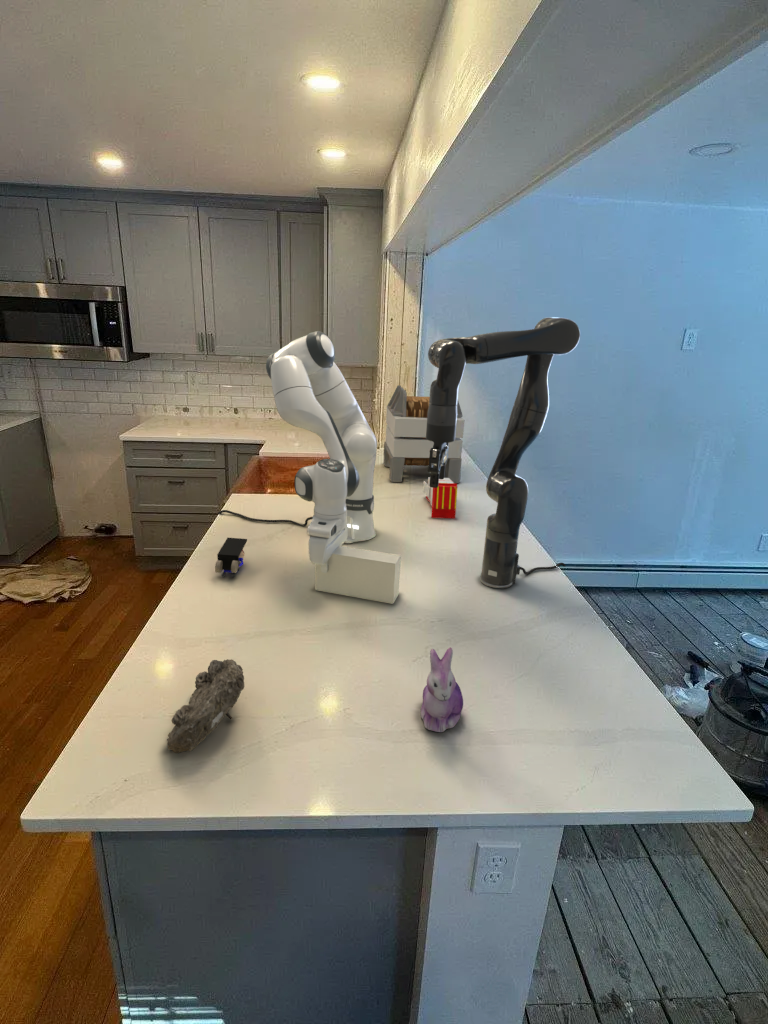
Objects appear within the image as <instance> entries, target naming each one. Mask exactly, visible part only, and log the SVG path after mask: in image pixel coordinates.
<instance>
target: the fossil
mask: <svg viewBox="0 0 768 1024" xmlns="http://www.w3.org/2000/svg"><path fill="white" fill-rule="evenodd" d="M243 670H244V669H243V667H242V665H240V664H237V662H236V661H235V660H234V659H232V658H231V659H227V658H226V659H224V660H223V661H222V660H217V659H212V660H211V661H210V663H209V665H208V666H207V671H201V672H199V673H198V674H197V675H196V676H195V680H194V684H195V685H194V687H195V689H194V690H193V693H192V694H191V697H190V698H189V700H188V704H184V705H182V706H181V707H180V709H177V710H176V711H175V713H174V715H173V716H172V718H171V723H172V724H173V727H172V730H171V731H170V732H168V734H167V738H166V741H167V742H166V745H167V749H168V750H169V751H173V752H174V753H176V754H178V753H182V752H188V751H189V752H192V751H193V750H195V748H196V747H197V746H199V744H200V743H201V742H203V741H204V740H205V739H206V738H207V737H208V736H209V735H210V734H211V733H212V732H214V730H215V729H217V727H218V726H219V724H220V722H221V721H222V720H223V719H224V718H225V716H226V717H227V719H229V720H233V717H232V715H230V714H229V710H230V709H231V708H234V706H235V704H236V703H237V702H238V699H239V697H240V695H241V693H242V691H243V690H245V689H244V688H245V675H244V671H243Z"/></svg>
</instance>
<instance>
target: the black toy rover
mask: <svg viewBox="0 0 768 1024" xmlns="http://www.w3.org/2000/svg"><path fill="white" fill-rule="evenodd" d="M247 542H248V538H240V537H226V539H225V541H224V543H223V544H222V546H221V547H220V549H219V551H218V552H217V560H216V562H215V564H214V572H215V573H221V577H222V578H224V577H225V576H226V574H227V573H230V574H231V573H232V574H231V578H234V577H235V575H236V573H237V572H239V571H240V567H242V566H243V565H244V564H245V562H244V558H245V551H244V547H245V546H246V544H247Z"/></svg>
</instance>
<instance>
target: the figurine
mask: <svg viewBox="0 0 768 1024" xmlns="http://www.w3.org/2000/svg"><path fill="white" fill-rule="evenodd" d="M453 655H454V649H453V647H448V648H446V650H445V652H444V653H443V656H442V658H440V657H439V655H438V652H437V651H436V649H434V648H430V651H429V661H430V672H429V673H428V675H427V678H426V685H425V686H424V688H423V690H422V702H421V708H420V717H421V720H422V721H423V725H424V727H425V729H427V730H428V731H433V732H435V733H444V732H445V731H446V730H447V729H453V728H454V727H455V726H456V725H457V723H459V721H460V718H461V715H462V711H463V707H464V697H463V693H462V690H461V687H460V684H459V683H458V682H457V680H456V677H455V676H454V673H453V671H452V660H453Z"/></svg>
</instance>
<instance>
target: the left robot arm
mask: <svg viewBox="0 0 768 1024" xmlns="http://www.w3.org/2000/svg"><path fill="white" fill-rule="evenodd" d="M335 359H336V349H335V345H334V343H333V341H332V340H331V338H330V337H329V336H328V334H327V333H324V332H322V331H320V330H317V331H311V332H309V333H308V334H306V335H304V336H301V337H298V338H295V339H294V340H291V341H290V342H289V343H288V344H286V345H285V346H282V347H281V348H280V349H278V350H275V351H273V352H272V353H271V354H270V355H269V356H268V357H267V359H266V362H265V370H266V373H267V375H268V377H269V379H270V383H271V390H272V394H273V395H272V396H273V398H274V403H275V407H276V410H277V413H278V414H279V416H280V418H281V419H282V420H283V421H284V422H286V423H287V424H289V425H291V426H293V427H296V428H299V429H303V430H306V431H309V432H312V433H314V434H315V435H317V436H318V437H319V438H320V439H321V441H322V443H323V445H324V447H325V449H326V452H327V454H328V457H329V458H323V459H320V460H318V461H317V462H316V463H315V464H312V465H306V466H303V467H301V468H299V469H298V470H297V472H296V474H295V476H294V480H293V481H294V491H295V494H296V495H297V496H298V497H299V498H301V499H302V500H304V501H306V502H313V504H314V507H313V515H312V516H309V517H307V518H306V519H305V521H304V523H303V524H302V523H299V522H297V521H294V520H291V519H261V518H253V517H249V516H246V515H244V514H241V513H238V512H234V511H231V510H228V509H222V510H219V511H218V512H217V515H221V514H223V513H227V514H231V515H234V516H237V517H240V518H242V519H245V520H248V521H253V522H261V523H290V524H293V525H296V526H300V527H306V526H307V529H306V533H307V536H309V538H308V557H309V562H310V563H311V564H312V565H315V564H316V565H320V566H321V572H322V573H327V572H328V570H329V565H328V564H327V562H328V559H329V558H330V557H331V556H332V553H333V552H334V551H335V550H336V549H337V548H338V547H339V546H343V544H352V543H357V542H365V541H368V540H372V539H373V538H375V537H376V535H377V532H376V528H375V523H374V513H373V512H374V509H375V496H374V476H375V475H374V474H375V466H376V460H377V450H378V439H377V437H376V434H375V433H374V432H373V430H372V428H371V426H370V425H369V424H370V423H368V421H367V419H366V417H365V415H364V413H363V411H362V409H361V407H360V405H359V403H358V401H357V399H356V397H355V395H354V393H353V391H352V389H351V388H350V386H349V384H348V381H347V380H346V378H345V377H344V375H343V372H342V371H341V370H340V368H339V367H338V365H337V364H336V363H335ZM310 520H311V521H310ZM308 521H310V522H309V523H310V524H308Z"/></svg>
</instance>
